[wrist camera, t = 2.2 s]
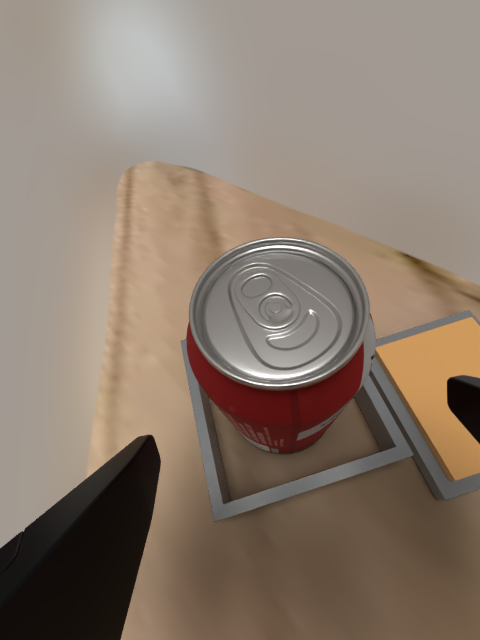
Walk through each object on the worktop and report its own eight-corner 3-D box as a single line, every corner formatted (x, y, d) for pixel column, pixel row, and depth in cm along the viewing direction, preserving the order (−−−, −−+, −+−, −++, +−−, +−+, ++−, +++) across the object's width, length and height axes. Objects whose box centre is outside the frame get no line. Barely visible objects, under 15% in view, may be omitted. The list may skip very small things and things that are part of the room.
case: (396, 459, 16) (414, 455, 14) (223, 517, 16) (214, 522, 14) (320, 314, 22) (324, 295, 20) (190, 354, 21) (180, 340, 19)
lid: (575, 452, 15) (604, 449, 14) (436, 499, 15) (451, 501, 14) (460, 317, 20) (474, 305, 19) (354, 351, 20) (359, 341, 18)
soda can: (266, 478, 17) (239, 472, 6) (213, 386, 20) (138, 283, 10) (353, 414, 18) (451, 320, 7) (289, 337, 21) (295, 199, 11)
